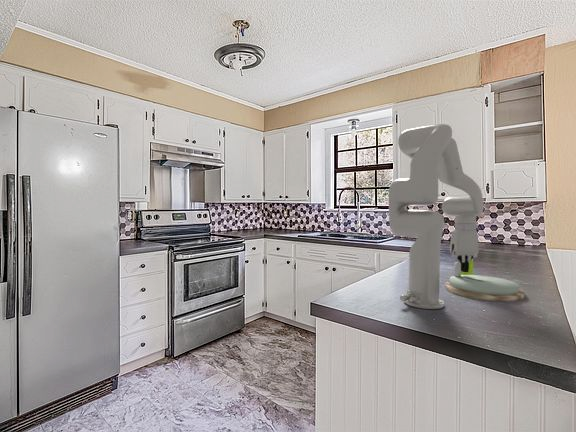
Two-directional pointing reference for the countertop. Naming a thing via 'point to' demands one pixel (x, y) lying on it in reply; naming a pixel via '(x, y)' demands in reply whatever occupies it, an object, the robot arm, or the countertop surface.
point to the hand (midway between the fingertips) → (464, 271)
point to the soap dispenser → (469, 269)
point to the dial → (482, 283)
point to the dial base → (485, 296)
